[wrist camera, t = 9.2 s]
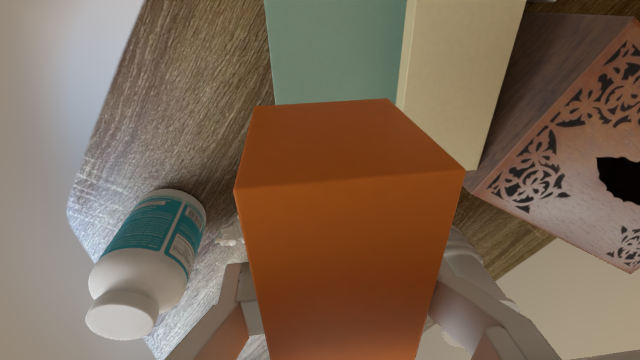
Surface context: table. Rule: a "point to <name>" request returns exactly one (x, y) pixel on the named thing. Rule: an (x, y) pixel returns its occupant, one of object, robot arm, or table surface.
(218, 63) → the table surface
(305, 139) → the orange block
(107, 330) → the pill bottle
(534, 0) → the multiport hub
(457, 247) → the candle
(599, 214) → the tissue box cover
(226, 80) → the table surface
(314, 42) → the two-tone step block
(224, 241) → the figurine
